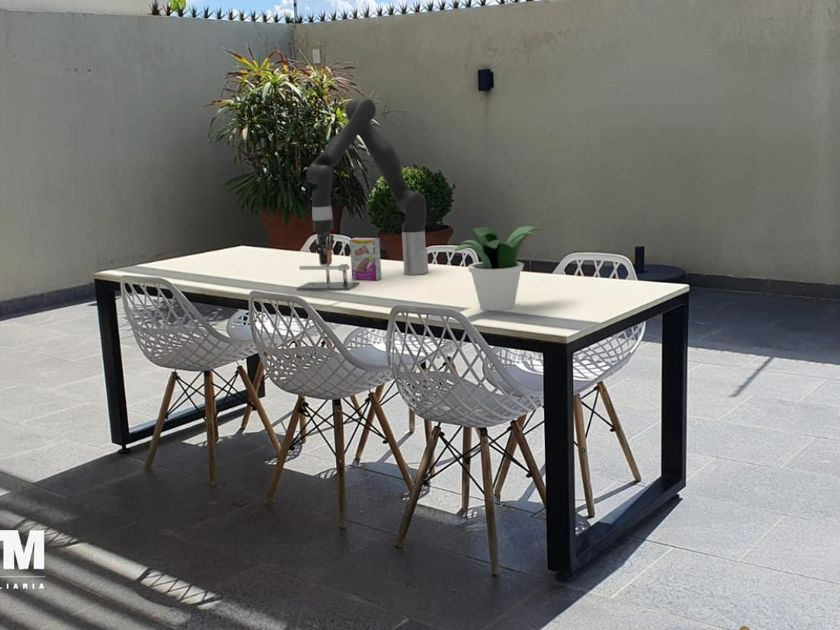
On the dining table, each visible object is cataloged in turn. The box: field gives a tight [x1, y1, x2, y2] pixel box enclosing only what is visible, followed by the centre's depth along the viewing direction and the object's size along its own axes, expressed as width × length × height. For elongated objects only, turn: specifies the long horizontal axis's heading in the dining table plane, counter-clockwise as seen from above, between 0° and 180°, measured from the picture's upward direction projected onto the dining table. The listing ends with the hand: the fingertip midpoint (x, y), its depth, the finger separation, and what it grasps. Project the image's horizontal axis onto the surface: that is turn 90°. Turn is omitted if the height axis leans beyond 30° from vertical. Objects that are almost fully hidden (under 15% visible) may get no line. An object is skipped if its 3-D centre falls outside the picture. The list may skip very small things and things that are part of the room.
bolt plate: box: [296, 263, 361, 291], centre depth 377 cm, size 21×12×9 cm, turn 73°
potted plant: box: [453, 225, 541, 312], centre depth 323 cm, size 32×35×26 cm
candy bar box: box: [349, 237, 382, 281], centre depth 390 cm, size 11×5×16 cm, turn 65°
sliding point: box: [318, 249, 333, 284], centre depth 375 cm, size 4×4×13 cm
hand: (325, 263), depth 374 cm, fingers closed on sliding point, 3 cm apart
